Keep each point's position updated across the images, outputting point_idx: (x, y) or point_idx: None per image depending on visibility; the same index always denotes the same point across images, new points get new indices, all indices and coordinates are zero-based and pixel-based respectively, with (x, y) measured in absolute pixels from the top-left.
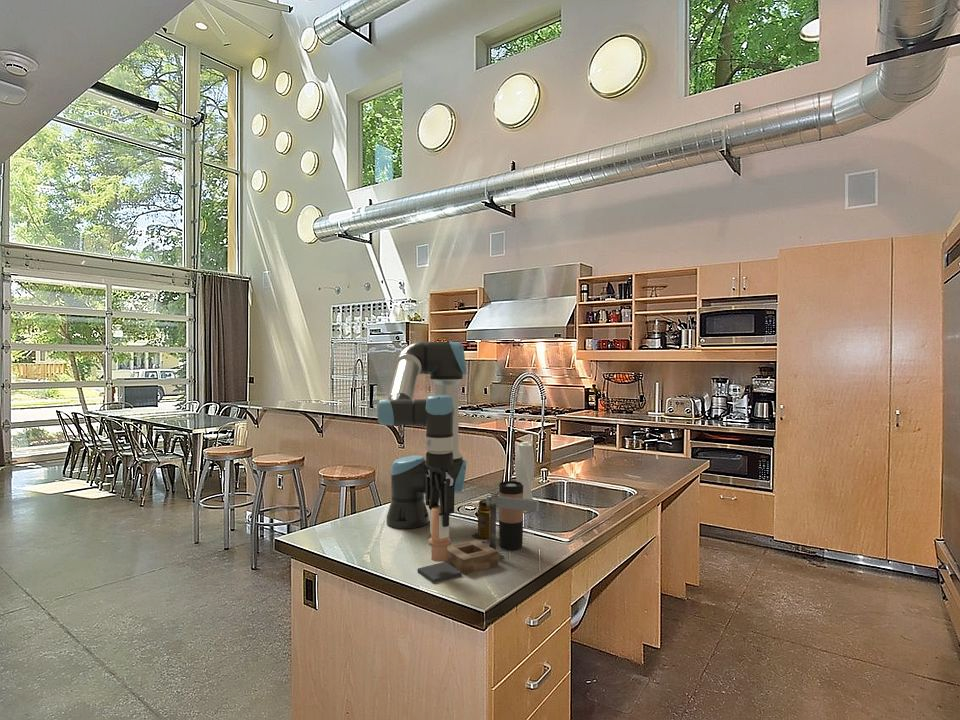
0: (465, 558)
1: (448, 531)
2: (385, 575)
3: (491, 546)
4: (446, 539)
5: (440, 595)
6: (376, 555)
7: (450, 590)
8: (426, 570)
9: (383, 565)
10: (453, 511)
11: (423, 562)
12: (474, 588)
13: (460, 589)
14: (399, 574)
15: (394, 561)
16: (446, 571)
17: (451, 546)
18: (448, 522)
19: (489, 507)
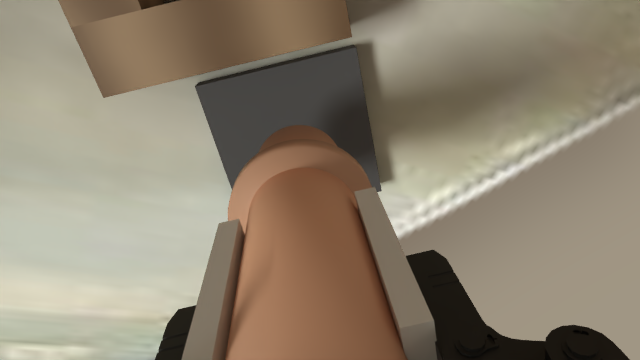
0: (331, 17)
1: (384, 212)
2: None
3: None
4: (343, 186)
5: (489, 185)
6: (19, 324)
7: (470, 139)
8: None
9: (139, 313)
10: (611, 351)
11: (137, 169)
12: (505, 35)
13: (482, 98)
14: None
15: (102, 274)
16: (320, 116)
17: (98, 34)
18: (453, 277)
19: None
